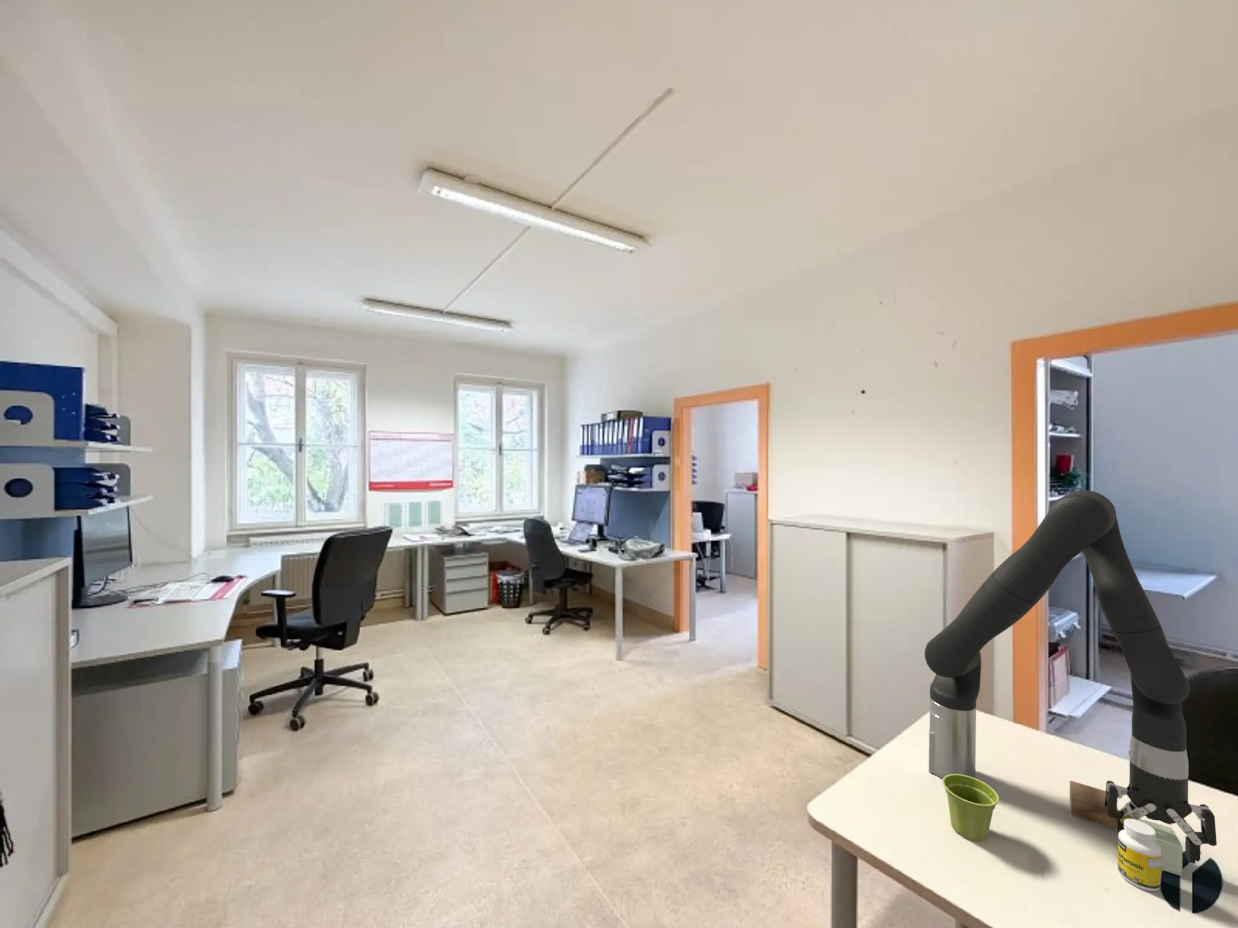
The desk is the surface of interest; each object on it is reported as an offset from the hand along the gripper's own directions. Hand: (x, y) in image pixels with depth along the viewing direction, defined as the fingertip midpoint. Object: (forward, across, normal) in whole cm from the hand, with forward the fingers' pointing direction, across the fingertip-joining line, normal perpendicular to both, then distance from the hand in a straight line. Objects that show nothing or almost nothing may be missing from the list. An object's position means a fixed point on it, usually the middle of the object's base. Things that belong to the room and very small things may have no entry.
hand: (1157, 850), depth 95 cm
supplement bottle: (+2, -4, -8) cm, 9 cm away
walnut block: (+2, -7, +10) cm, 13 cm away
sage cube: (+2, 0, 0) cm, 2 cm away
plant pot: (+2, -29, -10) cm, 31 cm away
